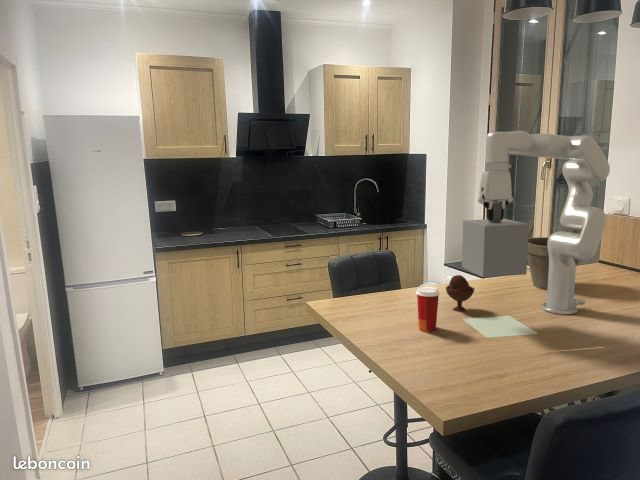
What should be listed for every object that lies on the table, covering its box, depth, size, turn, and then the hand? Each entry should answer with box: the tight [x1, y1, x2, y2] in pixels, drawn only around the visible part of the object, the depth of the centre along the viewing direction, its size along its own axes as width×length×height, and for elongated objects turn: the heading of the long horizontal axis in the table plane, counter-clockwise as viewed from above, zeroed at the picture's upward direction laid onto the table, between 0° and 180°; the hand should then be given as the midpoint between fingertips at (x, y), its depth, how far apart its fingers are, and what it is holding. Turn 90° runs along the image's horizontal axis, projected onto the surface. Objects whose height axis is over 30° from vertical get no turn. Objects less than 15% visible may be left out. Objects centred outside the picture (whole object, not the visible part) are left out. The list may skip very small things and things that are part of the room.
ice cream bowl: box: [445, 274, 475, 313], centre depth 183 cm, size 11×11×15 cm
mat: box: [462, 315, 539, 339], centre depth 166 cm, size 19×19×1 cm
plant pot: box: [527, 236, 579, 291], centre depth 213 cm, size 25×25×22 cm
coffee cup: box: [415, 286, 441, 333], centre depth 164 cm, size 8×8×15 cm
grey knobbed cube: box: [461, 201, 530, 278], centre depth 163 cm, size 16×16×25 cm
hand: (494, 219), depth 162 cm, fingers closed on grey knobbed cube, 3 cm apart
